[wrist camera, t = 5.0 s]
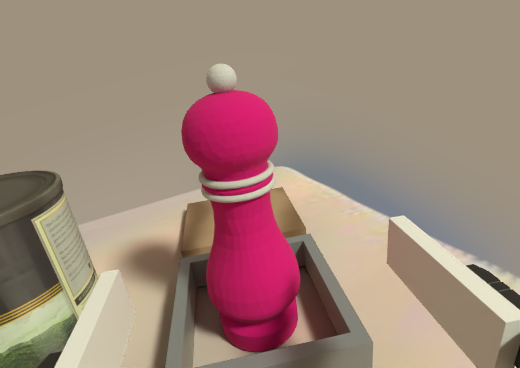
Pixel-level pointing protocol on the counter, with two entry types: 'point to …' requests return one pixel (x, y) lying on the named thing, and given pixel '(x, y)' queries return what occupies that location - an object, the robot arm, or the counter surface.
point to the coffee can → (39, 268)
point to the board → (202, 223)
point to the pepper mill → (242, 214)
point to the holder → (288, 358)
